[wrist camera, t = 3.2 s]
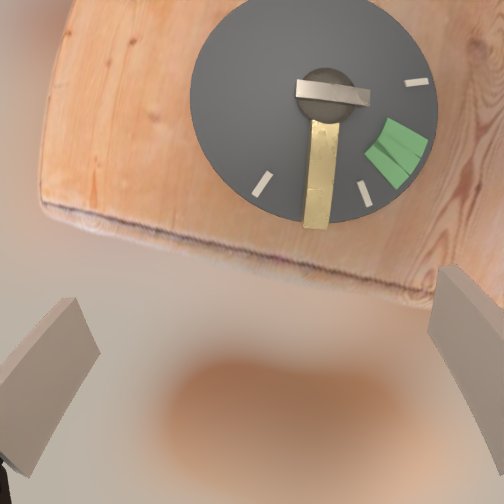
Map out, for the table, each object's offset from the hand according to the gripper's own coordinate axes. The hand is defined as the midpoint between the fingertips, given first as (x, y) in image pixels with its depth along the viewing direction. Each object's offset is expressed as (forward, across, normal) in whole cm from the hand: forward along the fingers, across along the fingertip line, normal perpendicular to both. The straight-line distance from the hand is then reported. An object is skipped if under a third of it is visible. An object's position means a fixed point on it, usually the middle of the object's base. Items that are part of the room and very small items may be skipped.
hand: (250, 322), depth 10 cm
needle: (+18, +5, +4) cm, 19 cm away
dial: (+19, +6, +8) cm, 22 cm away
